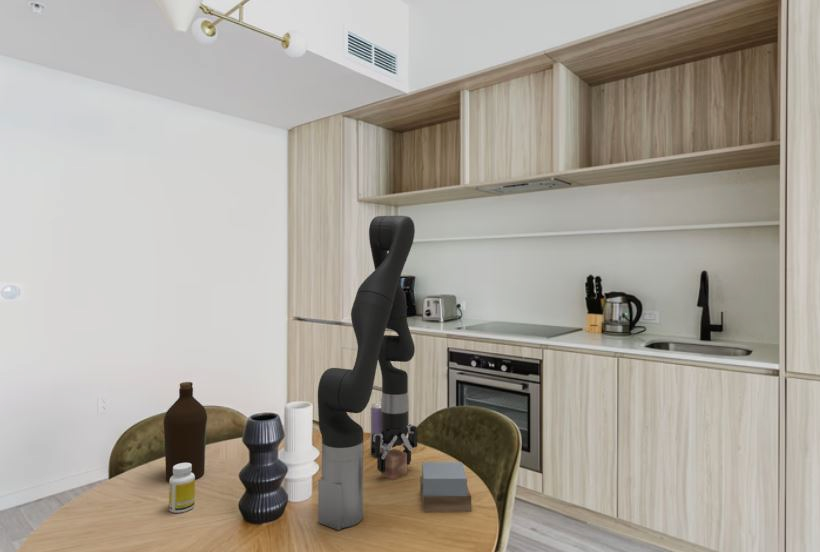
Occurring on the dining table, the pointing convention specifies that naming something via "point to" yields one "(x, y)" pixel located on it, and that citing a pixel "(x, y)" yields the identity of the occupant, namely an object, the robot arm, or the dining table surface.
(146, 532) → the dining table surface
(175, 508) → the supplement bottle
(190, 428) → the olive oil
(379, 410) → the beverage can
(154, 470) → the dining table surface
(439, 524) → the dining table surface
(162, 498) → the dining table surface
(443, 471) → the slate top slab
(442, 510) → the walnut base slab
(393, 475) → the terracotta block
